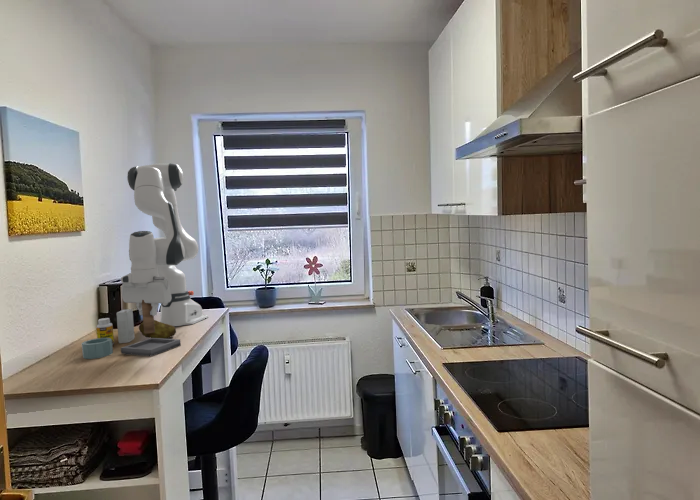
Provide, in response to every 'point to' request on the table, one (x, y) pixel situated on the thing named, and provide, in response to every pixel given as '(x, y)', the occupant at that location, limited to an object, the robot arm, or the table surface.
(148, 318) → the dowel
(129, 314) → the skincare box
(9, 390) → the table surface
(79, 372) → the table surface
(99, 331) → the supplement bottle
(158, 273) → the robot arm
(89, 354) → the tube
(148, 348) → the tray
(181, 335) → the table surface
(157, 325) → the potato
